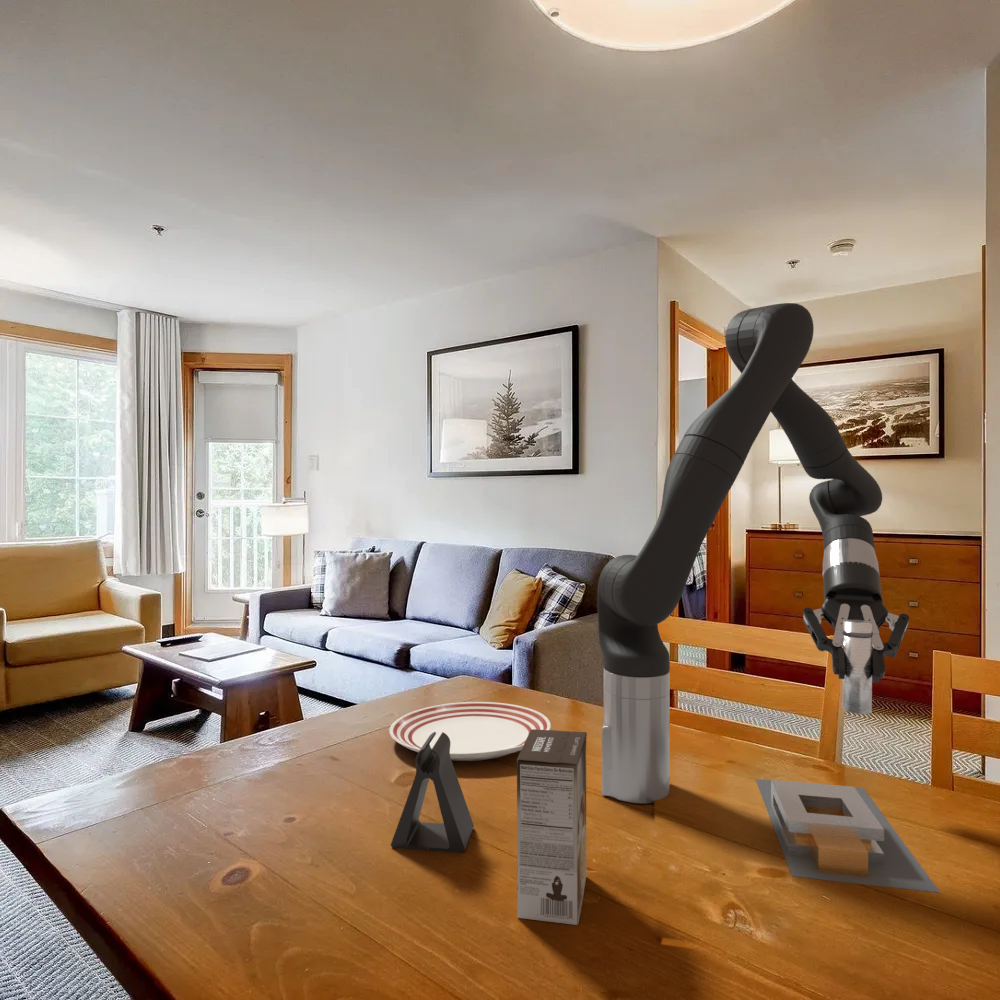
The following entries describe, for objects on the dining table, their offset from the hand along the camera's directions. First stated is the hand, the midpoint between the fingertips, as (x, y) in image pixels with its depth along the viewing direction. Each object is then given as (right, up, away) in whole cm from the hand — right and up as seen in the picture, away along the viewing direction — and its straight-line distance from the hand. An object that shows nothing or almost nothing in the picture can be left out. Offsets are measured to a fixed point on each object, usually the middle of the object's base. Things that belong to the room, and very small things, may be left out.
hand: (859, 677), depth 90 cm
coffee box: (-42, -18, -19) cm, 50 cm away
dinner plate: (-53, -18, +26) cm, 61 cm away
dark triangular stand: (-56, -18, -7) cm, 59 cm away
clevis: (-9, -17, -8) cm, 21 cm away
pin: (+1, -5, +2) cm, 5 cm away
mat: (-6, -18, -5) cm, 20 cm away
